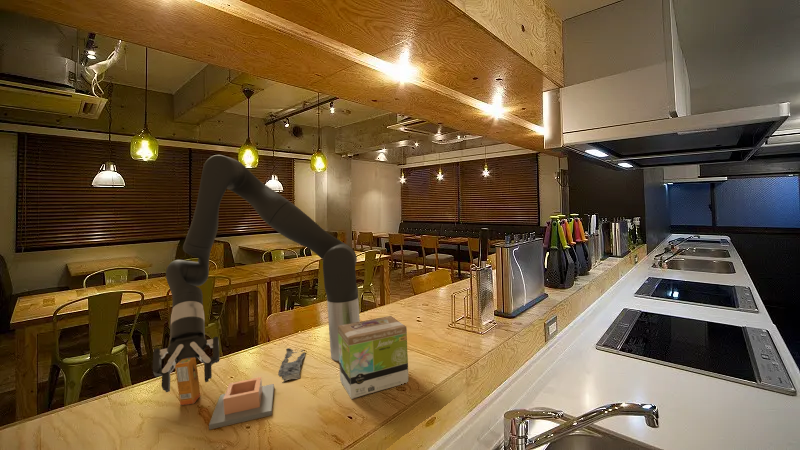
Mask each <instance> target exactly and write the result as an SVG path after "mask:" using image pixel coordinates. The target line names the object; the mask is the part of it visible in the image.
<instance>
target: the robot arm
mask: <svg viewBox="0 0 800 450" xmlns="http://www.w3.org/2000/svg"><path fill="white" fill-rule="evenodd" d="M201 171H202V172H201V176H200V184H199V187H198V188H199V189H198V195H197V200H196V204H195V210H194V212H193V216H192V217H193V218H192V220H191V224H190V225H189V226H190V227H189V228H188V232H187V235H186V237H185V241H184V243H183V245H182V250H183V252H184V253H186V254H188V255H190V256H193V257H195V258H197V261H192V260H185V259H175V260H173V261H171V262H170V263H169V264H168V265H167V267H166V270H165V278H166V281H167V285H168V287H169V290H170V293H171V296H172V306H171V307H172V309H171V313H170V314H171V315H170V328H169V329H170V332H169V344H168V347H166V348H162V349H160V348H155V349H153V352H152V353H153V355H152V372H153V375H154V376H155V377H161V388H162V390H163V391H165V393H169V392H171V374H172V372H173V371H174V369H175V365H176V364H177V363H178V362H180V361H181V360H182V359H186V358H194V357H195V358H196V359H198V360H199V361H200V362H201V363H203V366H204V367H203V368H204V372H203V373H204V383H208V382H209V380H210V379H212V376H213V375H212V372H213V371H212V366H213V365H214V364H217V363H219V362H220V340H219V339H220V338H219V337H218V336H214V337H213V338H211V339H207V338H206V333H205V332H206V331H205V321H206V320H205V311H204V305H203V304H204V303H203V301H204V300H203V296H204V295H203V291H202V289H201V287H200V286H203V285H204V284H205V283H206V282H207V281H208V278H209V274H210V272H209V271H210V270H209V269H210V257H211V252H212V251H211V250H212V248H213V245H214V242H215V239H216V236H217V234H218V229H219V212H220V204H221V201H222V199H223V197H224V194H225V193H226V190H229V191H231V192H233V193H234V194H236V195H238V196H239V197H240V198H242V199H243V200H244V201H246V202H247V203H248V204H249V205H251V207H252V208H253V210H254V211H255V212H256V214H257V215H258V216H259V217H260V218H261V219H262V220H263V222H265V223H266V224H267V225H268V226H269V227H271V228H272V229H273V230H275V232H277V233H279V234H280V235H282V236H283V237H285V238H287V239H288V240H291V241H292V242H294V243H297V244H299V245H301V246H304V247H305V248H307V249H309V250H310V251H311V252H313V253H314V254H315V255H317V256H318V257H319V258H320V259H322V271H323V272H322V273H323V284H324V292H325V294H326V303H327V316H328V317H327V319H328V331H329V332H328V334H329V347H330V349H329V352H330V358H331V359H332V360H333V361H336V362H339V343H338V326H339V325H345V324H350V323H355V322H361V321H360V306H359V289H358V284H357V274H356V265H357V261H358V259H357V253H356V252H355V250H354V248H352V247H351V246H350V245H348V244H346V243H345V242H343V241H341V240H340V239H338V238H336V237H335V236H334V235H332V234H330V233H329V232H327V231H326V230H325V229H323V228H322V227H321V226H320V225H319V224H318V223H317V222H316V221H315V220H313V219H312V218H311V217H310V216H309V215H308V214H306V213H305V212H304V211H303V210H302V209H300V208H299V207H297V206H296V205H295V204H294V203H292V202H291V201H290V200H288V199H287V198H285V197H284V196H283V195H282V194H280V193H278V192H277V191H276V190H274V189H272V188H270V187H269V186H267V185H266V184H264V182H262V181H261V180H260V179H259V178H258V177H257V176H255V175H254V174H253V172H251V171H250V170H249V169H248V168H247V167H246V166H245V165H244V164H243V162H241V161H239V160H237V159H236V158H232V157H229V156H226V155H222V154H215V155H212V156H210V157H209V158H207V160H205V162H204V164H203V167H202V170H201ZM207 346H209V347H210V349H212V351H213V352H212V354H213V355H212V356H211V357H209V356H208V355H207V354H206V352H205V351H204V350H205V349H206V347H207ZM167 354H168V356H170V357H169V358H168V360H167V363H166V364H165V365H164V367H163V368H162V360H163V359H165V357H166V355H167Z"/></svg>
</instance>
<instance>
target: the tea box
mask: <svg viewBox="0 0 800 450" xmlns="http://www.w3.org/2000/svg"><path fill="white" fill-rule="evenodd" d="M407 328H408V327H407V325H405V324H404V323H402V322H401V321H399V320H398V319H396V318H395V317H393V316H392V315H389V316H388V315H387V316H383V317H378V318H372V319H367V320H361V321H360V322H355V323H350V324H345V325H339V326H338V343H339V361H338V362H339V364H338V365H339V379H340V380H339V381H340V382H341V384H342V386H343V387H344V389H345V390H346V393H347V394H348V396H349V397H350V399H351V400H354V399H357V398H359V397H362V396H366V395H368V394H372V393H377V392H380V391H382V390H387V389H390V388H394V387H397V386H401V384H402V385H405V384H404V383H406V384H408V383H409V358H408V357H409V355H408V334H407V331H408V330H407ZM407 382H408V383H407Z"/></svg>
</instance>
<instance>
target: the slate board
mask: <svg viewBox="0 0 800 450" xmlns="http://www.w3.org/2000/svg"><path fill="white" fill-rule="evenodd" d="M274 392H275V384H274V383H271V384H266V385H262V396H261V403H260V407H258V408H253V409H249V410H244V411H240V412H235V413H231V414H227V415H225V413H224V402H223V399H224V396H225V393H222V394H220V396H219V398H218V400H217V403H216V405H215V408H214V411H213V413H212V416H211V418H210V421H209V423H208V430H213V429H217V428H221V427H222V428H223V427H226V426H230V425H236V424H239V423H244V422H248V421H252V420H257V419H261V418H264V417H266V418H267V417H269V416H272V414H273V403H274V396H275V395H274V394H275V393H274Z"/></svg>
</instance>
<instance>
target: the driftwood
mask: <svg viewBox="0 0 800 450" xmlns="http://www.w3.org/2000/svg"><path fill="white" fill-rule="evenodd" d="M285 350H286V353H285V355H284V359H283V360H282V361H281V364H280V367H279V369H278V376H279V377H280V378H281V380H282V381H281V382H282V384H283V383H285V382H286V381H288V380H289V381H290V380H296V379H300V378H301V375H300V372H301V367H302V366H303V363H302V362H303V360H304V358H305V357H306V355H305V354H306V352H304V351H305V350H304V349H301V350H300V352H302V353H301V354H300V355H299V356H297V359H296V360H294V361H290V362H289V358H291V357H292V356H293V354H294V353H295V354H297V353H298V352H299V350H297V351H294V349H292V348H289V347H288V348H286V349H285Z"/></svg>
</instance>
